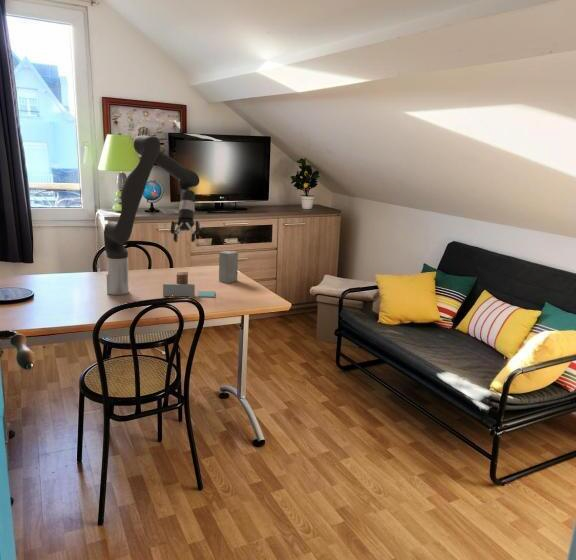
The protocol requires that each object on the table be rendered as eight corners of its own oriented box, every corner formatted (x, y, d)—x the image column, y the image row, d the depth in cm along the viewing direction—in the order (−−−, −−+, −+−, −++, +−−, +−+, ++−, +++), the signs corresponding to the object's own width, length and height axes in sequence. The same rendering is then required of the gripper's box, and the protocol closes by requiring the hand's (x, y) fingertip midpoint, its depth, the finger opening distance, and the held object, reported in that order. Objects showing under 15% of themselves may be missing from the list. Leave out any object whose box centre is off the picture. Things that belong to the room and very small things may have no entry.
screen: (163, 296, 244) (163, 284, 243) (163, 295, 245) (163, 283, 244) (194, 297, 246) (194, 285, 245) (194, 296, 248) (194, 284, 246)
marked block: (176, 295, 248) (176, 274, 245) (177, 291, 253) (177, 271, 250) (187, 295, 249) (187, 275, 246) (187, 292, 254) (187, 272, 251)
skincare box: (227, 283, 271) (228, 254, 267) (217, 280, 275) (218, 251, 271) (238, 280, 278) (239, 251, 274) (228, 278, 282) (229, 249, 278)
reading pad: (197, 297, 247) (197, 295, 247) (198, 292, 254) (198, 290, 254) (214, 297, 248) (214, 296, 248) (214, 292, 256) (214, 291, 255)
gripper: (170, 208, 259) (167, 239, 255) (198, 207, 257) (195, 239, 253) (175, 214, 266) (172, 244, 262) (202, 213, 264) (200, 243, 260)
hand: (184, 241), depth 258 cm, fingers open, 8 cm apart
